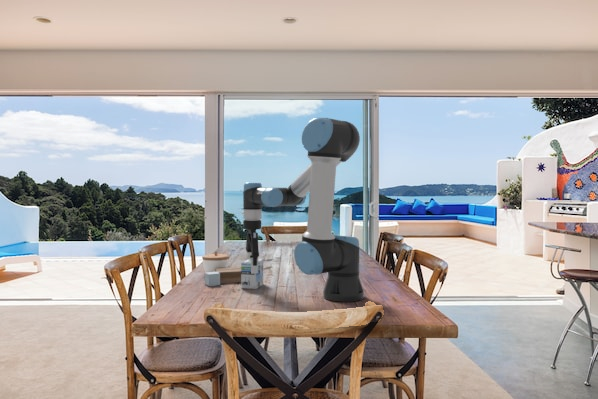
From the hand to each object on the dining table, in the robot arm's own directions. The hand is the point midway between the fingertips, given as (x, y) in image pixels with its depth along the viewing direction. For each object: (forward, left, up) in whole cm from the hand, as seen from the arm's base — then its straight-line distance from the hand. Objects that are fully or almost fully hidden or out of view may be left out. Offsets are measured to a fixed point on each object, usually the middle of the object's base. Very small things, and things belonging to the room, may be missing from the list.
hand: (251, 270), depth 185 cm
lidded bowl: (+30, +13, -7) cm, 33 cm away
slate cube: (+8, +16, -7) cm, 19 cm away
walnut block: (+16, +8, -7) cm, 19 cm away
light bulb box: (0, 0, -7) cm, 7 cm away
